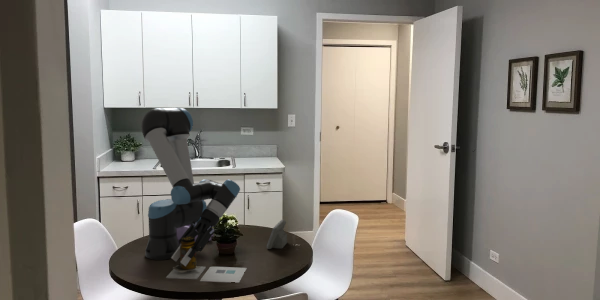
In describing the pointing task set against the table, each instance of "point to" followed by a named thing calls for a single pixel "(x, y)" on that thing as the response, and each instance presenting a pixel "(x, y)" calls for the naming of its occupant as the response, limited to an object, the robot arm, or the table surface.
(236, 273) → the tile
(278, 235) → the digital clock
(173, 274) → the mat
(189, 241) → the condiment
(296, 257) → the table surface
